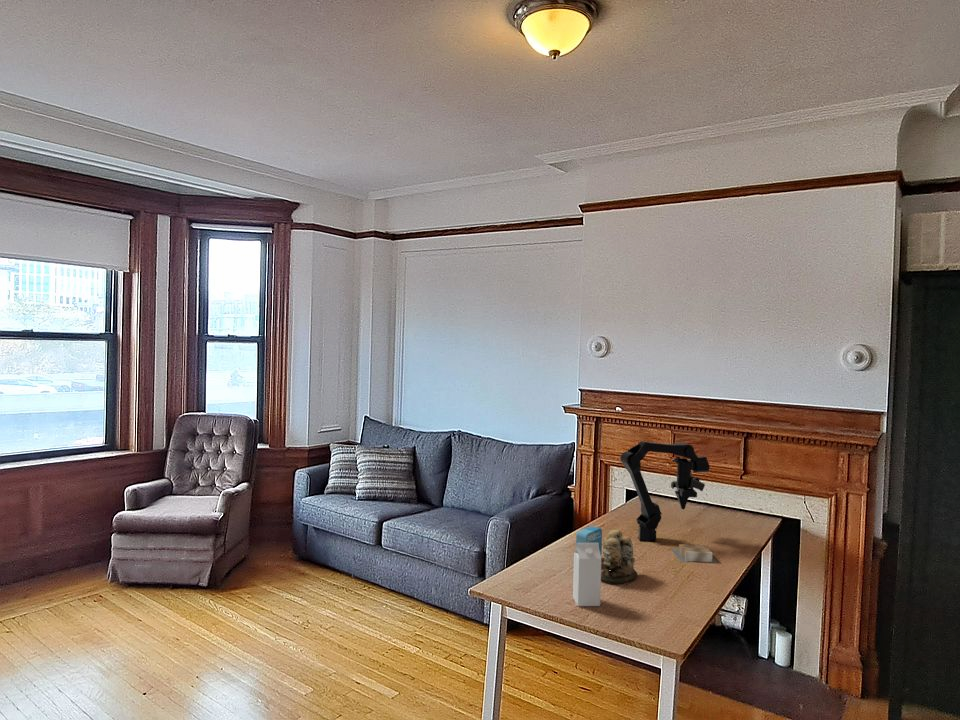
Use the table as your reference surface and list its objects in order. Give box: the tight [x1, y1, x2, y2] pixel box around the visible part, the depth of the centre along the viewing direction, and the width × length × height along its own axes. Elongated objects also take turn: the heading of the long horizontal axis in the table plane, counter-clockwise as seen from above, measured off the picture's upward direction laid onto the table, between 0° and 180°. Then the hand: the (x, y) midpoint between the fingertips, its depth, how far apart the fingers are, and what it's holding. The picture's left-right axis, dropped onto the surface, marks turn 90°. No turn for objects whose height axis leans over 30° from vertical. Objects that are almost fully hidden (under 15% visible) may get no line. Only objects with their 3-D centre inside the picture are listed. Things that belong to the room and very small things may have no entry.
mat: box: [670, 548, 719, 564], centre depth 251 cm, size 14×15×1 cm
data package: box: [575, 525, 603, 556], centre depth 244 cm, size 12×4×12 cm, turn 140°
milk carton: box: [572, 543, 602, 607], centre depth 204 cm, size 7×7×19 cm
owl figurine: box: [601, 529, 638, 586], centre depth 227 cm, size 18×12×17 cm, turn 140°
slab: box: [678, 543, 713, 563], centre depth 249 cm, size 10×4×9 cm
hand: (683, 509), depth 274 cm, fingers closed
